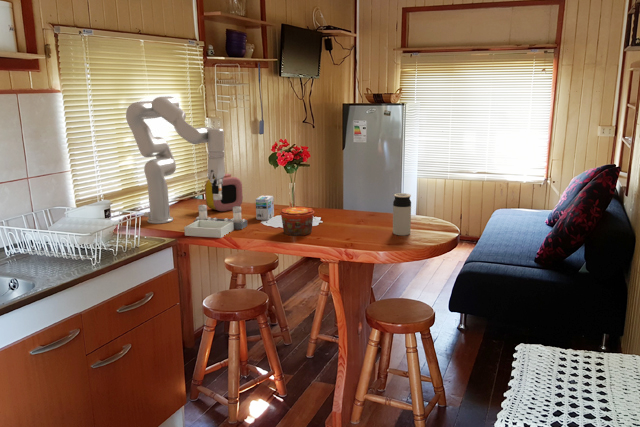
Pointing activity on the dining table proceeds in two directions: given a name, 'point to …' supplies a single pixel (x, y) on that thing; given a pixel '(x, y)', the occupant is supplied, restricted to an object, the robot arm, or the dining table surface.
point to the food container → (297, 220)
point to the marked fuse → (219, 196)
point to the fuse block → (236, 225)
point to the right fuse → (237, 214)
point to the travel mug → (401, 214)
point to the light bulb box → (264, 207)
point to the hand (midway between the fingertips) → (217, 192)
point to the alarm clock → (225, 194)
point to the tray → (209, 228)
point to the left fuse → (202, 212)
